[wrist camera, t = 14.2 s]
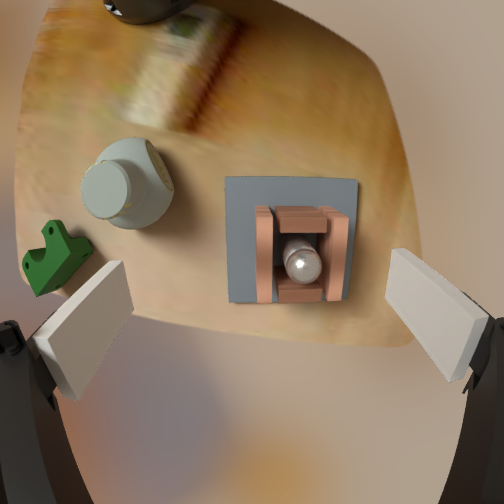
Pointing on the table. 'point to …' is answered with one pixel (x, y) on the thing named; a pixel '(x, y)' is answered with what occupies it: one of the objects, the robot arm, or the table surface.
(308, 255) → the steel post
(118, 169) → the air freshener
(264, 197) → the post board
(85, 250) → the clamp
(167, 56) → the table surface
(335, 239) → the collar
